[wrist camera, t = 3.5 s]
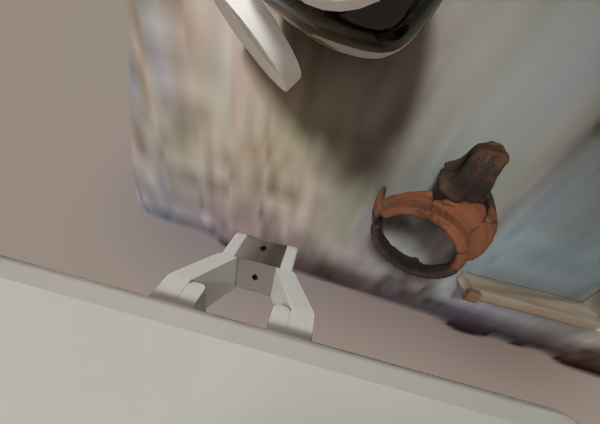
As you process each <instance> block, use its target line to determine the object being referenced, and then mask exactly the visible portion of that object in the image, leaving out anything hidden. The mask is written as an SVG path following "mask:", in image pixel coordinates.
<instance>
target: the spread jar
mask: <svg viewBox="0 0 600 424" xmlns="http://www.w3.org/2000/svg"><path fill="white" fill-rule="evenodd" d="M214 1H215V3H216V5H217V6H218V8H219V10H220V11H221V13H222V15H223V16H224V18H225V19H226V21H227V22H228V24H229V25H230V27H231V28H232V30H233V31H234V32H235V34H236V35H237V37H238V38H239V39H240V41H241V42H242V43H243V45H244V46H245V47H246V49H247V50H248V51H249V53H250V54H251V55H252V57H253V58H254V59H255V60H256V62H257V63H258V64H259V65H260V67H261V68H262V69H263V70H264V71H265V73H266V74H267V75H268V76H269V77H270V78H271V79H272V80H273V81H274V82H275V83H276V84H277V85H278V86H279V87H280V88H281V89H282V90H283V91H285V92H287V91H288V90H289V89H290V88H291V87H292V86H293V85H294V84H295V83H296V82H297V81H298V80H299V79H300V78H301V70H300V66H299V63H298V61H297V59H296V56H295V54H294V52H293V50H292V48H291V46H290V44H289V43H288V41H287V39H286V37H285V36H284V34H283V32H282V31H281V29H280V27H279V26H278V24H277V23H276V21H275V20H274V18H273V17H272V15H271V14H270V12H269V11H268V9H267V8H266V6H265V5H264V4H263V2H262V1H261V0H214ZM263 1H264V2H266V3H267V4H268V5H269V6H270V7H271V8H272V9H273V10H274V11H275V12H277V13H278V14H279V15H280V16H281V17H282V18H284V19H285V20H286V21H287V22H289V23H290V24H291V25H293V26H294V27H295V28H297V29H298V30H299V31H301V32H302V33H304V34H305V35H307V36H308V37H310V38H311V39H313V40H315V41H316V42H318V43H320V44H322V45H324V46H326V47H328V48H331V49H333V50H336V51H339V52H342V53H345V54H348V55H352V56H356V57H361V58H367V59H379V58H385V57H387V56H389V55H392V54H394V53H396V52H398V51H400V50H401V49H402V48H404V47H405V46H406V45H408V44H409V43H410V42H411V41H412V40H413V39H414V37H415V36H416V35H417V34H418V33H419V32H420V30H421V29H422V28H423V27H424V25H425V24H426V23H427V21H428V20H429V19H430V17H431V16H432V15H433V13H434V12H435V11H436V9H437V8H438V6H439V5H440V3H441V2H442V0H263Z"/></svg>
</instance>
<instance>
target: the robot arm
mask: <svg viewBox="0 0 600 424" xmlns="http://www.w3.org/2000/svg"><path fill="white" fill-rule="evenodd" d="M297 251H298V248H297V247H292V246H287V245H283V244H279V243H276V242H272V241H268V240H264V239H261V238H257V237H254V236H250V235H246V234H243V233H239V232H238V233H236V234H235V236H234V237H233V238H232V240H231V241H230V243H229V244H228V246H227V247H226V248H225V250H224V251H223V253H217V254H214V255H212V256H210V257H207V258H205V259H203V260H200V261H198V262H196V263H193V264H191V265H189V266H186V267H184V268H181V269H179V270H177V271H175V272H172V273H170V274H168V275H167V276H166V278H165V279H164V280H163V281H162V282H161V283H160V284H159V285H158V286H157V287H156V289H155V290H154V291H153V292H152V293H151V294H150V295H149V296H147V295H143V294H139V293H136V292H132V291H129V290H125V289H121V288H118V287H114V286H110V285H107V284H103V283H100V282H96V281H93V280H89V279H86V278H82V277H78V276H74V275H71V274H68V273H64V272H60V271H56V270H53V269H50V268H46V267H42V266H39V265H35V264H32V263H28V262H24V261H21V260H17V259H13V258H10V257H6V256H3V255H0V424H579V423H578V422H576V421H575V420H574V419H573V418H572V417H570V416H568V415H567V414H565V413H563V412H561V411H558V410H555V409H552V408H549V407H546V406H543V405H539V404H535V403H532V402H527V401H524V400H521V399H517V398H513V397H510V396H506V395H502V394H499V393H495V392H492V391H488V390H484V389H481V388H477V387H473V386H470V385H466V384H463V383H459V382H455V381H452V380H448V379H444V378H441V377H437V376H434V375H430V374H427V373H423V372H420V371H416V370H412V369H409V368H405V367H402V366H398V365H394V364H391V363H387V362H383V361H380V360H377V359H373V358H369V357H366V356H362V355H358V354H355V353H351V352H347V351H344V350H341V349H337V348H333V347H330V346H326V345H323V344H319V343H315V342H312V334H313V325H314V317H315V313H314V311H313V309H312V307H311V305H310V303H309V301H308V299H307V297H306V295H305V293H304V291H303V289H302V287H301V285H300V282H299V280H298V279H297V276H296V274H295V273H294V272H292V270H293V267H294V263H295V259H296V255H297ZM235 287H239V288H243V289H247V290H251V291H255V292H258V293H261V294H265V295H268V296H270V298H271V301H272V305H273V310H272V313H271V316H270V319H269V322H268V325H267V328H266V329H265V328H261V327H258V326H254V325H251V324H247V323H244V322H240V321H236V320H232V319H229V318H225V317H222V316H218V315H215V314H211V313H208V312H206V308H207V307H208V306H210V305H211V304H213V303H214V302H215V301H217V300H218V299H220V298H221V297H222V296H224V295H225V294H227V293H228V292H230V291H231V290H232V289H234V288H235Z"/></svg>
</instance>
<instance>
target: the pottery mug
mask: <svg viewBox="0 0 600 424" xmlns="http://www.w3.org/2000/svg"><path fill="white" fill-rule="evenodd" d="M508 162H509V154H508V153H507V152H506V150H505V148H504V146H503V145H501V144H499V143H496V142H494V141H489V142H487V143H479V144H477V145H475V146H474V147H473V148H472V149H471V150H470V151H469V152H468V153H466V154H465V155H464V156H463V157H461V158H460V159H457V160H454V161H449V162H446V163H445V164H444V170H443V171H442V174H441V175H440V176H439V178H438V187H439V191H440V193H441V194H442V196H443V197H445V198H447V199H445V200H434V197H433V192H432V191H418V192H406V193H402V194H396V195H392V196H389V197H387V198H385V199H384V195H385V192H386V187H384V186H383V187H382V188H381V189H380V191H379V193H378V195H377V197H376V200H375V203H374V206H373V207H374V208H373V210H372V213H373V222H374V223H373V224H372V225H371V235H372V239H373V242H374V244H375V246H376V248H377V249H378V250H379V252H381V253H382V255H383V256H384V257H385V258H386V260H387V261H389V262H390V263H392V264H393V265H394V266H395V267H397V268H399V269H400V270H402V271H404V272H406V273H409V274H411V275H415V276H417V277H422V278H427V279H440V278H446V277H449V276H452V275H454V274H456V273H457V272H458V270H460V269H461V268H462V267H463V266H464V265H465V263H466V261H469V260H473V259H475V258H477V257H479V256H480V255H481V254H483V253H484V252H485V251H486V249H487V248H488V247H489V245H490V244H491V242H492V241H493V238H494V236H495V234H496V231H497V226H498V221H497V213H496V207H495V204H494V199H493V196H492V194H491V191H490V190H491V189H492V188H493V186H494V184H495V181H496V179H497V177H498V175H499V174H500V173H501V171H502V170H503V168H504V167H505V165H506V164H507V163H508ZM397 215H412V216H416V217H419V218H423V219H426V220H430V221H431V222H432V223H434V224H436V225H437V226H439V227H440V228H441V229H442V230H443V231H444V232H445V233H446V234H447V235H448V236H449V238H450V239H451V241H452V242H453V244H454V247H455V255H454V258H453V259H452V260H451V261H450V262H448V263H445V264H438V265H425V264H422V263H421V262H419V259H418V258H416V257H409V256H407V255H405V254H403V253H402V252H400V251H399V250H398V249H396V248H395V247H394V246H392V245H391V244H390V243H389V241H388V240H387V238H386V237H385V236H384V234H383V232H382V224H383V221H382V218H383V217H384V218H385V219H388V218H390V217H393V216H397Z"/></svg>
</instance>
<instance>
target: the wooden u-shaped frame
mask: <svg viewBox="0 0 600 424" xmlns="http://www.w3.org/2000/svg"><path fill="white" fill-rule="evenodd" d="M457 280H458V282H459V284H460V285H461V287H462V289H463V291H464V292H463V293H462V295H461V296H462V298H463V300H465V301H469V302H473V303H476V302H477V301H478V300H481V301H485V302H488V303H492V304H496V305H500V306H504V307H507V308H511V309H515V310H519V311H523V312H526V313H530V314H534V315H538V316H541V317H545V318H549V319H553V320H557V321H560V322H564V323H568V324H572V325H576V326H579V327H583V328H587V329H591V330H594V331H598V332H600V290H599V291H598V292H596V293H595V294H594V295H592V296H591V297H589V298H588V299H587V300H585V301H584V302H579V301H575V300H571V299H567V298H563V297H560V296H556V295H552V294H548V293H544V292H540V291H536V290H533V289H529V288H525V287H521V286H517V285H513V284H510V283H506V282H502V281H498V280H494V279H490V278H486V277H483V276H479V275H475V274H471V273H467V272H462V273H461V274H460V275H459V277H458V278H457Z"/></svg>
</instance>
